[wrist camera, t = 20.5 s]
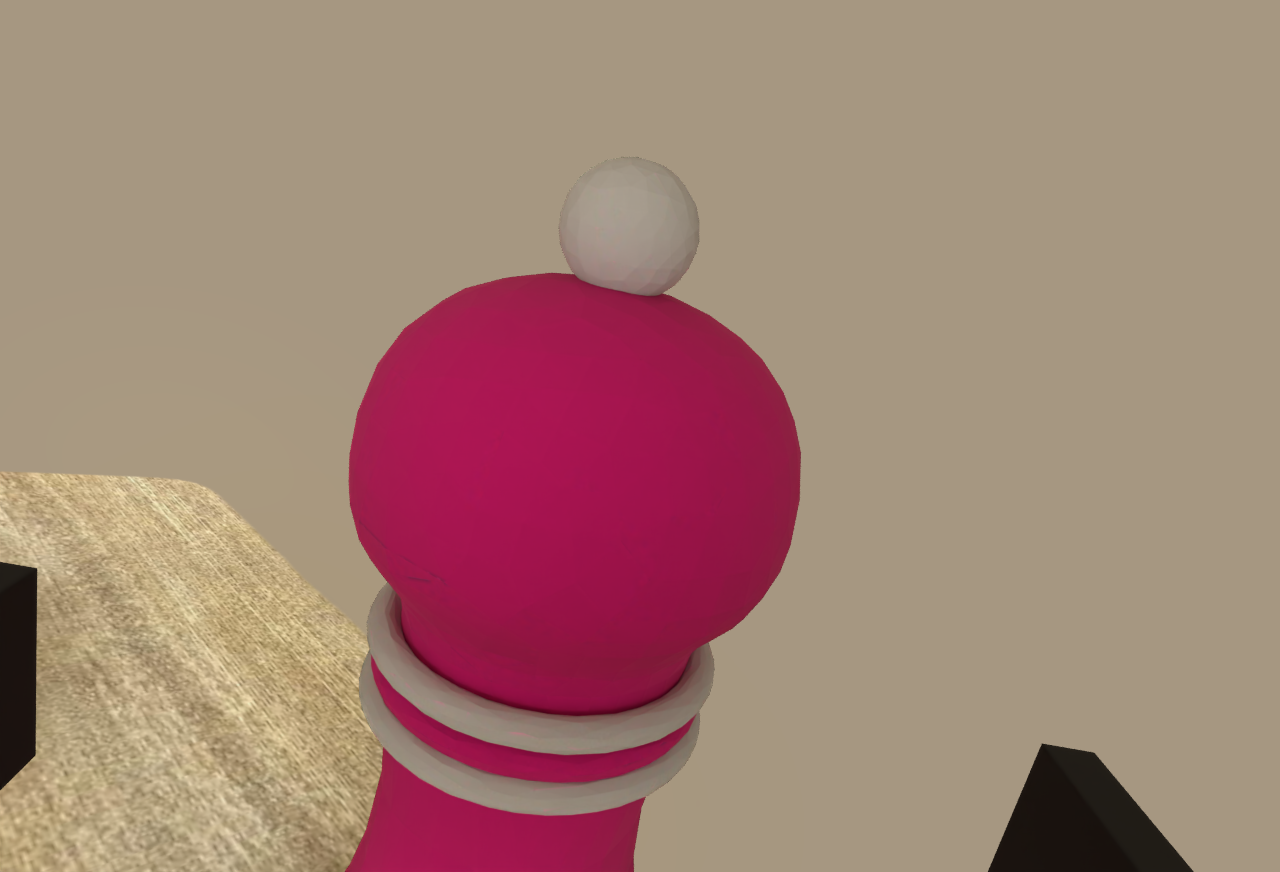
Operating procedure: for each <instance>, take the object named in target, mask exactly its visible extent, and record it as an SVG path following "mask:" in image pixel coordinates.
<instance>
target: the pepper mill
mask: <svg viewBox="0 0 1280 872" xmlns="http://www.w3.org/2000/svg"><path fill="white" fill-rule="evenodd" d="M559 236H560V245H561V248H562V251H563V253H564V255H565V258H566V260H567V263H568V264H569V266H570V268H571V270H572V272H573V273H574V274H561V273H545V274H536V275H526V276H517V277H509V278H503V279H499V280H495V281H491V282H487V283H484V284H480V285H476V286H472V287H469V288H465V289H463V290H461V291H459V292H457V293H456V294H454V295H452V296H450V297H448V298H446V299H445V300H443V301H441V302H440V303H439V304H437V305H436V306H434V307H433V308H432V309H431V310H429V311H428V312H426V313H425V314H423V315H422V316H421V317H419V318H418V319H417V320H415V321H414V322H413V323H411V324H410V325H408V326H407V327H406V328H404V330H403V331H402V332H401V334H400V335H399V336H398V338H397V339H396V340H395V342H394V343H393V344H392V346H391V347H390V348H389V350H388V351H387V352H386V354H385V355H384V356H383V358H382V359H381V360H380V362H379V363H378V364H377V367H376V369H375V372H374V374H373V376H372V379H371V381H370V384H369V386H368V389H367V391H366V393H365V396H364V398H363V400H362V403H361V405H360V408H359V410H358V413H357V418H356V424H355V429H354V434H353V439H352V444H351V450H350V459H349V495H350V506H351V510H352V514H353V518H354V522H355V526H356V530H357V534H358V537H359V540H360V542H361V544H362V546H363V547H364V549H365V551H366V552H367V554H368V556H369V558H370V559H371V561H372V562H373V563H374V564H375V566H376V568H377V569H378V570H379V572H380V573H381V574H382V576H383V577H384V578H385V579H386V581H387V584H386V585H385V586H384V587H383V588H382V589H381V590H380V591H379V593H378V595H377V597H376V598H375V600H374V602H373V604H372V606H371V609H370V613H369V616H368V620H367V639H368V644H369V652H368V654H367V656H366V658H365V661H364V663H363V666H362V670H361V673H360V677H359V697H360V701H361V706H362V710H363V712H364V715H365V717H366V719H367V722H368V724H369V726H370V728H371V730H372V732H373V733H374V734H375V736H376V737H377V739H378V740H379V742H380V743H381V745H382V746H383V757H382V772H381V776H380V780H379V783H378V787H377V791H376V795H375V798H374V802H373V806H372V810H371V814H370V817H369V821H368V825H367V829H366V831H365V833H364V835H363V837H362V840H361V842H360V844H359V846H358V848H357V850H356V853H355V855H354V857H353V859H352V861H351V863H350V865H349V866H348V868H347V869H346V870H345V872H634V858H633V857H634V849H635V843H636V837H637V831H638V825H639V819H640V813H641V807H642V805H643V803H644V800H645V798H646V796H648V795H649V794H651V793H653V792H654V791H655V790H657V789H658V788H660V787H662V786H663V785H665V784H666V783H668V782H669V781H670V780H671V779H672V778H673V777H674V776H675V775H676V774H677V772H678V771H679V770H680V769H681V768H682V767H683V766H684V765H685V764H686V762H687V761H688V759H689V757H690V755H691V753H692V751H693V749H694V747H695V745H696V741H697V738H698V734H699V725H700V714H699V710H700V709H701V707H702V706H703V704H704V702H705V701H706V699H707V698H708V696H709V694H710V691H711V688H712V684H713V676H714V659H713V656H712V652H711V649H710V646H709V643H708V642H710V641H711V640H713V639H715V638H717V637H718V636H720V635H722V634H724V633H725V632H727V631H729V630H731V629H732V628H733V627H735V626H736V625H737V624H738V623H739V622H741V621H742V620H743V619H744V618H745V617H746V616H747V615H748V613H749V612H750V611H751V610H752V609H753V608H754V607H755V606H756V605H757V604H758V603H759V602H760V601H761V599H762V598H763V597H764V595H765V594H766V592H767V591H768V589H769V588H770V586H771V585H772V583H773V582H774V580H775V579H776V577H777V576H778V574H779V573H780V571H781V568H782V566H783V563H784V561H785V558H786V555H787V553H788V550H789V548H790V545H791V540H792V535H793V530H794V525H795V520H796V515H797V510H798V505H799V500H800V463H801V452H800V447H799V441H798V436H797V432H796V426H795V422H794V419H793V416H792V414H791V411H790V408H789V406H788V403H787V401H786V398H785V395H784V393H783V391H782V389H781V388H780V386H779V385H778V383H777V382H776V380H775V379H774V377H773V375H772V374H771V372H770V371H769V369H768V368H767V366H766V365H765V363H764V362H763V360H762V359H761V358H760V357H759V356H758V355H757V354H756V353H755V352H754V351H753V350H752V349H751V348H750V347H749V346H748V345H747V344H746V343H745V342H744V341H743V340H742V339H741V338H740V337H738V336H737V335H736V334H734V333H733V332H732V331H730V330H729V329H727V328H726V327H725V326H724V325H722V324H721V323H719V322H718V321H717V320H715V319H714V318H712V317H711V316H710V315H708V314H705V313H704V312H702V311H700V310H698V309H696V308H694V307H692V306H690V305H688V304H686V303H684V302H682V301H680V300H678V299H676V298H674V297H672V296H669V295H666V294H663V292H665V291H666V290H668V289H670V288H671V287H673V286H674V285H675V284H676V283H677V282H678V281H679V280H680V279H681V278H682V276H683V275H684V274H685V272H686V271H687V270H688V269H689V266H690V264H691V262H692V260H693V258H694V256H695V254H696V251H697V247H698V244H699V218H698V212H697V207H696V204H695V202H694V201H693V199H692V197H691V195H690V194H689V192H688V190H687V188H686V187H685V185H684V184H683V182H682V181H681V180H680V179H679V178H678V177H677V176H676V175H675V174H674V173H673V172H672V171H671V170H669V169H668V168H666V167H664V166H662V165H660V164H657V163H655V162H652V161H649V160H645V159H642V158H639V157H621V158H616V159H611V160H606V161H604V162H602V163H600V164H598V165H596V166H594V167H592V168H591V169H589V170H588V171H587V172H586V173H584V174H583V175H582V176H581V177H580V178H579V179H578V180H577V182H576V183H575V184H574V186H573V187H572V188H571V190H570V191H569V192H568V194H567V197H566V199H565V202H564V205H563V208H562V211H561V214H560V223H559Z"/></svg>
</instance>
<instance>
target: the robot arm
mask: <svg viewBox="0 0 1280 872" xmlns="http://www.w3.org/2000/svg"><path fill="white" fill-rule="evenodd" d="M36 641H37V568H32V567H26V566H20V565H15V564H9V563H3V562H0V790H1V789H2V788H3V787H4V786H5V785H6V784H7V783H8V782H9V781H10V780H11V779H12V778H13V777H14V776H15V775H16V774H17V773H18V772H19V771H20V770H21V769H22V768H23V767H24V766H25V765H26V764H27V763H28V762H29V761H30V760H31V759H32V758H33V757H34V756H35V755H36ZM988 872H1193V870H1192V869H1191V868H1190V867H1189V866H1188V865H1187V863H1186V862H1185V861H1184V860H1183V858H1182V857H1181V856H1180V855H1179V854H1178V853H1177V851H1176V850H1175V849H1174V848H1173V846H1172V845H1171V844H1170V843H1169V842H1168V840H1167V839H1166V838H1165V837H1164V836H1163V835H1162V833H1161V832H1160V831H1159V830H1158V828H1157V827H1156V826H1155V825H1154V824H1153V823H1152V821H1151V820H1150V819H1149V818H1148V816H1147V815H1146V814H1145V813H1144V812H1143V811H1142V810H1141V808H1140V807H1139V806H1138V805H1137V803H1136V802H1135V801H1134V800H1133V799H1132V797H1131V796H1130V795H1129V794H1128V793H1127V791H1126V790H1125V789H1124V788H1123V787H1122V785H1121V784H1120V783H1119V782H1118V781H1117V779H1116V778H1115V777H1114V776H1113V775H1112V774H1111V772H1110V771H1109V770H1108V769H1107V768H1106V766H1105V765H1104V764H1103V763H1102V762H1101V760H1100V759H1099V758H1098V757H1097V756H1096V754H1095V753H1093V752H1087V751H1082V750H1076V749H1070V748H1064V747H1059V746H1052V745H1047V744H1042V745H1041V747H1040V749H1039V752H1038V755H1037V757H1036V759H1035V761H1034V764H1033V766H1032V768H1031V771H1030V773H1029V775H1028V778H1027V781H1026V783H1025V785H1024V787H1023V790H1022V792H1021V795H1020V797H1019V799H1018V802H1017V804H1016V806H1015V809H1014V811H1013V813H1012V816H1011V818H1010V821H1009V823H1008V825H1007V828H1006V830H1005V832H1004V835H1003V837H1002V840H1001V842H1000V844H999V847H998V849H997V851H996V854H995V856H994V859H993V861H992V863H991V866H990V868H989V870H988Z"/></svg>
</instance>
